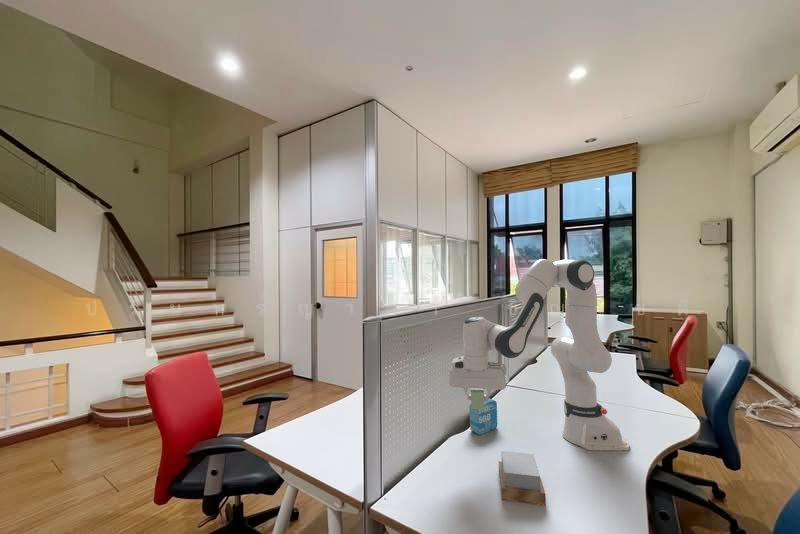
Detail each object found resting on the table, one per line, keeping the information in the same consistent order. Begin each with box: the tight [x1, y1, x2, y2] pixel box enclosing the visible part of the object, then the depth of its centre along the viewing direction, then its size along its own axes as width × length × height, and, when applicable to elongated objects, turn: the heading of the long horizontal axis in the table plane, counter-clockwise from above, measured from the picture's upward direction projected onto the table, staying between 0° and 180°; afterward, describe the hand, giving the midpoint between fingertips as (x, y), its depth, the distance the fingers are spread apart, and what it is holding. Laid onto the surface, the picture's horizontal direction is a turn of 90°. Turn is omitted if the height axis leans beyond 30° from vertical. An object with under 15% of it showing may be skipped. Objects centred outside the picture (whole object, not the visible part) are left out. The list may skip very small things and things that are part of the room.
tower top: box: [501, 450, 541, 491], centre depth 101 cm, size 10×12×4 cm
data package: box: [469, 397, 498, 435], centre depth 139 cm, size 12×4×12 cm, turn 122°
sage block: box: [470, 388, 485, 409], centre depth 118 cm, size 4×4×6 cm
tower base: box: [498, 460, 547, 507], centre depth 101 cm, size 12×14×4 cm
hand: (477, 399), depth 118 cm, fingers closed on sage block, 4 cm apart
